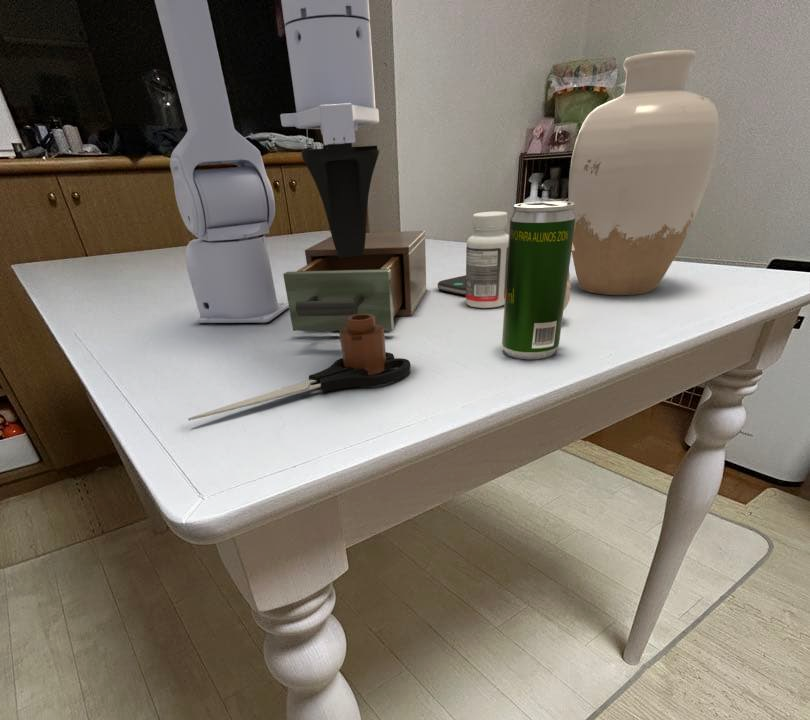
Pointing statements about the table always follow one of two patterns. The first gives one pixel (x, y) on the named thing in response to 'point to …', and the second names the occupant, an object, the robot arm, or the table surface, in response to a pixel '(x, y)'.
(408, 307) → the cabinet
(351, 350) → the spice bottle
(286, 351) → the table surface
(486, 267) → the pill bottle
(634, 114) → the vase
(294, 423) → the table surface
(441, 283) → the smartphone
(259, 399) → the scissors
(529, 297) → the beer can
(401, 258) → the drawer
